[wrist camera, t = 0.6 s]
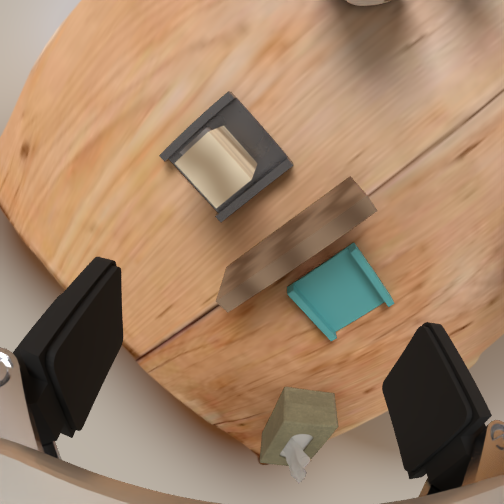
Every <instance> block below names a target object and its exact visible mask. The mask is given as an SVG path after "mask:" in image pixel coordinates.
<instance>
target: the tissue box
mask: <svg viewBox="0 0 504 504" xmlns="http://www.w3.org/2000/svg"><path fill="white" fill-rule="evenodd" d="M337 428H338V421H337V411H336V403H335V394H334V393H329V392H320V391H313V390H305V389H298V388H292V387H284V389H283V391H282V394H281V396H280V398H279V400H278V402H277V404H276V406H275V408H274V410H273V412H272V414H271V416H270V418H269V420H268V422H267V424H266V426H265V428H264V430H263V432H262V441H261V453H260V462H261V463H268V464H277V465H286V466H289V469H290V473H291V476H292V477H294V478H295V479H296V480H297V482H298V483H300V482H302V480H303V479H304V477H305V476H306V471H305V469H304V467H306V465H307V464H308V463H309V462H310V461H311V458H312V457H313V456H314V455H315V454H316V453H317V452H318V450H319V449H320V448H321V447H322V446H323V445H324V443H325V442H326V441H327V440H328V439H329V437H330V436H331V435H332V434H333V433H334V431H335V430H336V429H337Z"/></svg>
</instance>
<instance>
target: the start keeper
mask: <svg viewBox="0 0 504 504" xmlns="http://www.w3.org/2000/svg"><path fill="white" fill-rule="evenodd" d="M221 126H224V127H225V128H226V129H227V130H228V131H229V132H230V133H231V134H232V135H233V137H234V138H235V139H236V140H237V141H238V142H239V143H240V144H241V145H242V147H243V148H244V149H245V150H246V151H247V152H248V153H249V155H250V156H251V157H252V158H253V159H254V160H255V161H256V163H257V166H256V169H255V172H254V174H253V177H252V180H251V181H249V182H248V183H247V184H246V185H244V186H243V187H242V188H241V189H239V190H238V191H237V192H236V193H235V194H233V195H232V196H231V197H230V198H228V199H227V200H226V201H225V202H224V203H222V204H221V205H220V206H219V207H218V208H215V207H214V206H213V205H212V203H211V202H210V201H209V200H208V199H207V198H206V197H205V196H204V195H203V194H202V193H201V192H200V190H199V189H198V188H197V187H196V186H195V185H194V184H193V183H192V182H191V181H190V180H189V178H188V177H187V176H186V175H185V174H184V173H183V172H182V171H181V170H180V169H179V168H178V167H177V165H176V164H175V162H176V161H177V160H178V159H180V158H181V157H182V156H183V155H182V154H181V153H180V152H181V151H182V150H183V149H184V148H185V147H186V146H187V145H188V144H189V143H190V142H191V141H192V140H193V139H195V138H196V137H197V136H198V135H199V134H200V133H201V132H202V131H203V130H204V129H205V128H208V127H211V129H212V130H214V129H216V128H219V127H221ZM159 156H160V157H161V158H162V159H163V160H164V161H167V160H170V161H171V162H172V163H173V164H174V165H175V167H176V168H177V169H178V170H179V171H180V172H181V173H182V174H183V175H184V176H185V177H186V179H187V180H188V181H189V182H190V183H191V184H192V185H193V186H194V187H195V188H196V189H197V190H198V192H199V193H200V194H201V195H202V196H203V197H204V198H205V199H206V200H207V201H208V202H209V204H210V205H211V206H212V207H213V208H214V209H215V210H216V211H217V212H218V213H217V214H216V216H215V217H216V218H217V219H218V220H219V221H220V222H222V221H223V220H225V219H226V218H227V217H228V216H230V215H231V214H232V213H233V212H235V211H236V210H237V209H238V208H240V207H241V206H242V205H243V204H245V203H246V202H247V201H248V200H250V199H251V198H252V197H253V196H255V195H256V194H257V193H259V192H260V191H261V190H262V189H264V188H265V187H266V186H267V185H269V184H270V183H271V182H273V181H274V180H275V179H276V178H278V177H279V176H280V175H282V174H283V173H284V172H285V171H287V170H288V169H289V168H291V167H292V166H293V162H292V161H291V160H290V159H289V157H288V156H287V155H286V154H285V153H284V151H283V150H282V149H281V148H280V147H279V145H278V144H277V143H276V142H275V141H274V140H273V138H272V137H271V136H270V135H269V134H268V133H267V131H266V130H265V129H264V128H263V127H262V126H261V125H260V123H259V122H258V121H257V120H256V119H255V118H254V117H253V116H252V114H251V113H250V112H249V111H248V110H247V109H246V108H245V107H244V106H243V104H242V103H241V102H240V101H239V100H238V99H237V98H236V97H235V96H234V95H233V94H232V92H229V91H228V92H227V93H226V94H225V95H224V96H222V97H221V98H220V99H219V100H218V101H217V102H216V103H214V104H213V105H212V106H211V107H210V108H209V109H208V110H206V111H205V112H204V113H203V114H202V115H201V116H200V117H199V118H198V119H197V120H196V121H194V122H193V123H192V124H191V125H190V126H189V127H188V128H187V129H186V130H185V131H184V132H183V133H182V134H181V135H180V136H179V137H178V138H177V139H175V140H174V141H173V142H172V143H171V144H170V145H169V146H168V147H167V148H166V149H165V150H164V151H163V152H162V153H161V154H160V155H159Z"/></svg>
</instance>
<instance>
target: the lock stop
mask: <svg viewBox="0 0 504 504" xmlns="http://www.w3.org/2000/svg"><path fill="white" fill-rule="evenodd" d="M180 153H181V154H182V155H183V156H182V157H181V158H180V159H178V160H177V161H176V162H175V164H176V165H177V167H178V168H179V169H180V170H181V171H182V172H183V173H184V174H185V175H186V176H187V177H188V178H189V180H190V181H191V182H192V183H193V184H194V185H195V186H196V187H197V188H198V189H199V190H200V192H201V193H202V194H203V195H204V196H205V197H206V198H207V199H208V200H209V201H210V202H211V203H212V205H213V206H214V207H215V208H218V207H219V206H220V205H221V204H222V203H224V202H225V201H226V200H227V199H228V198H230V197H231V196H232V195H233V194H235V193H236V192H237V191H238V190H239V189H241V188H242V187H243V186H244V185H246V184H247V183H248V182H249V181H251V180H252V177H253V174H254V172H255V169H256V166H257V163H256V161H255V160H254V159H253V158H252V157H251V156H250V155H249V153H248V152H247V151H246V150H245V149H244V148H243V147H242V145H241V144H240V143H239V142H238V141H237V140H236V139H235V138H234V137H233V135H232V134H231V133H230V132H229V131H228V130H227V129H226V128H225V127H224V126H221V127H219V128H216V129H214V130H212V129H211V127H208V128H205V129H204V130H203V131H202V132H201V133H200V134H199V135H198V136H197V137H196V138H195V139H193V140H192V141H191V142H190V143H189V144H188V145H187V146H186V147H185V148H184V149H183V150H182V151H181V152H180Z"/></svg>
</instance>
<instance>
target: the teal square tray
mask: <svg viewBox="0 0 504 504" xmlns="http://www.w3.org/2000/svg"><path fill="white" fill-rule="evenodd" d="M287 294H288V296H289V297H290V298H291V299H292V300H293V301H294V302H295V303H296V304H297V305H298V306H299V307H300V308H301V310H302V311H303V312H304V313H305V314H306V315H307V316H308V317H309V318H310V319H311V320H312V321H313V322H314V324H315V325H316V326H317V327H318V328H319V329H320V330H321V331H322V332H323V333H324V334H325V335H326V336H327V337H328V339H329V340H330V341H333V340H335V339H336V338H337V337H336V331H338V330H340V329H341V328H343V327H345V326H346V325H348V324H350V323H351V322H353V321H355V320H356V319H358V318H360V317H361V316H363V315H365V314H366V313H368V312H370V311H371V310H373V309H374V308H376V307H378V306H379V305H381V304H382V303H384V302H385V303H386V304H387V306H388V307H390V306H391V305H393V304H394V302H393V299H392V297H391V296H390V294H389V292H388V291H387V289H386V288H385V286H384V285H383V283H382V282H381V280H380V279H379V277H378V276H377V275H376V273H375V272H374V270H373V269H372V267H371V266H370V264H369V263H368V261H367V260H366V259H365V257H364V256H363V254H362V253H361V251H360V250H359V249H358V247H357V246H356V244H355V243H354V242H353V243H352V244H351V245H349V246H348V247H346V248H345V249H343V250H342V251H340V252H339V253H337V254H336V255H335V256H333V257H332V258H330V259H329V260H327V261H326V262H324V263H323V264H321V265H320V266H318V267H317V268H315V269H314V270H312V271H311V272H309V273H308V274H306V275H305V276H303V277H302V278H300V279H299V280H297V281H296V282H294V283H293V284H291V285H289V286H288V287H287Z"/></svg>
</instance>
